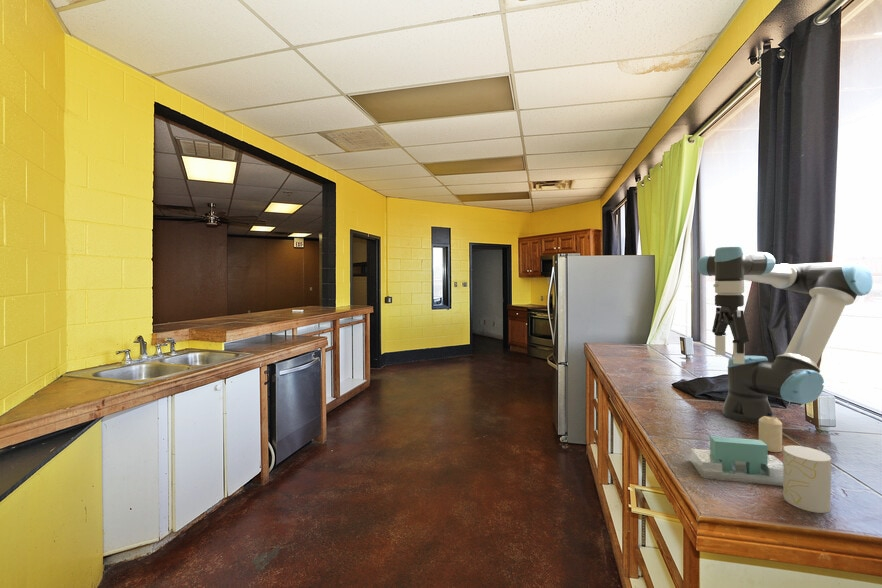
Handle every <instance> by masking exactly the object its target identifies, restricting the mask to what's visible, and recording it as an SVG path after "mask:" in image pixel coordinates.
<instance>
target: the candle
mask: <svg viewBox="0 0 882 588" xmlns="http://www.w3.org/2000/svg"><path fill="white" fill-rule="evenodd" d="M758 440H761V441H763V442H764V443H765V444H766V445H768V452H772V453H782V451H783V422H781V420H780V419H779V418H778V417H776V416H774V417H768V416H763V417H762V418H760V419H759V424H758Z"/></svg>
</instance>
